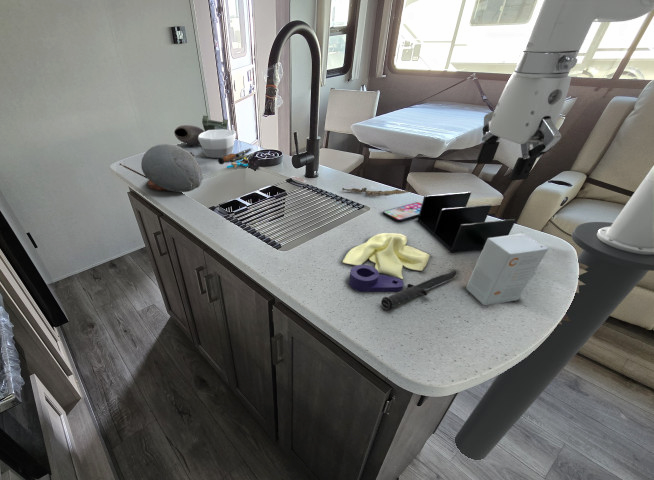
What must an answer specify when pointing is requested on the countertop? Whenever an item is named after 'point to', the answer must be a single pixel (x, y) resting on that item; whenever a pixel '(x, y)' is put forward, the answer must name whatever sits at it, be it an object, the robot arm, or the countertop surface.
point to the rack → (460, 222)
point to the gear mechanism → (239, 162)
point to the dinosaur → (241, 156)
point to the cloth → (388, 254)
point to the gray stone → (171, 168)
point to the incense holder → (149, 181)
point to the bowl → (217, 142)
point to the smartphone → (404, 212)
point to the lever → (373, 280)
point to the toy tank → (213, 124)
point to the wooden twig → (377, 192)
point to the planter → (188, 134)
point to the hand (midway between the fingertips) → (499, 170)
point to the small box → (505, 268)
